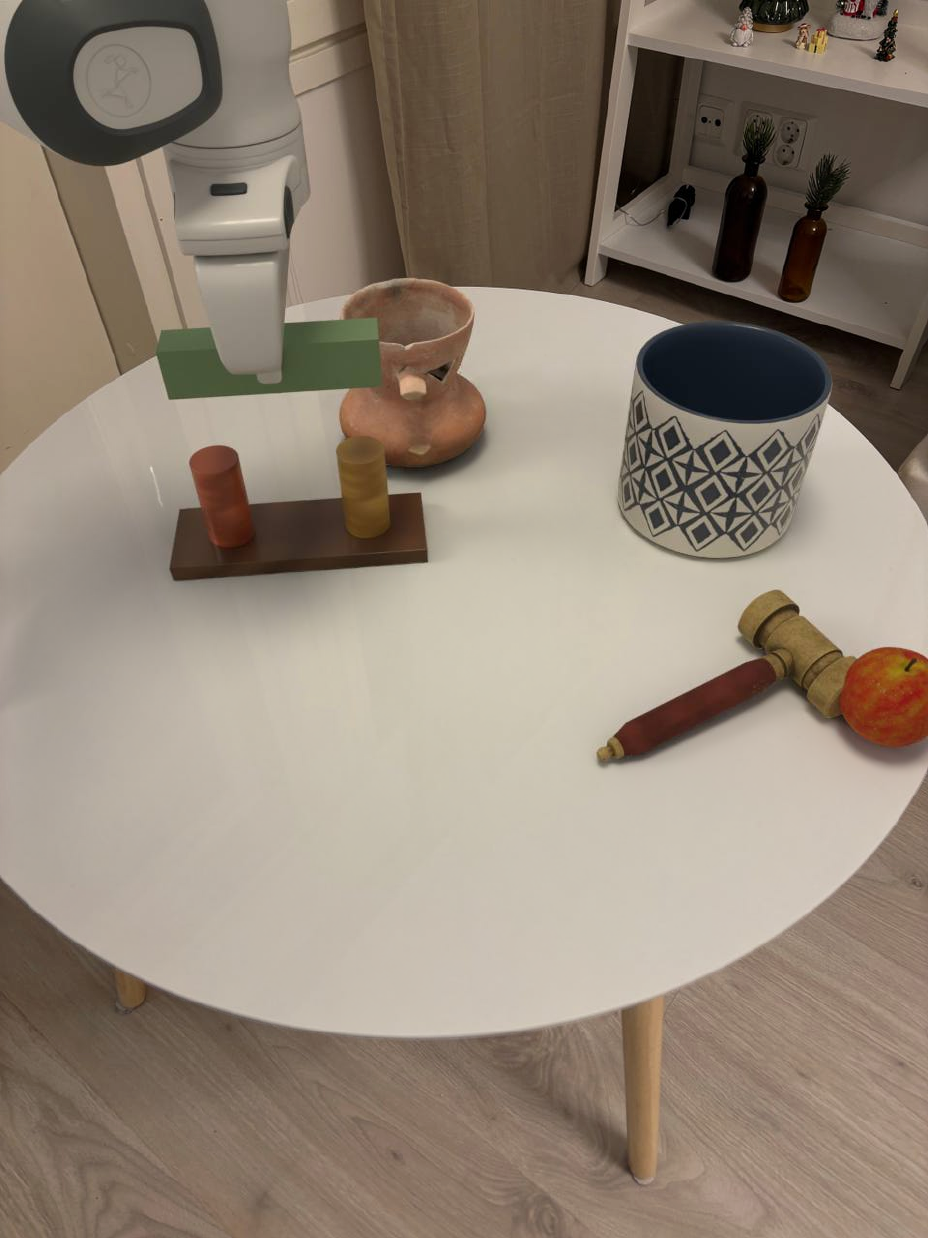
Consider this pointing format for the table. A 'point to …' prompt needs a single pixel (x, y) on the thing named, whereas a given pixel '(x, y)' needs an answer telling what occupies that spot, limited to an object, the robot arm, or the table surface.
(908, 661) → the fruit
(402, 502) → the rod stand
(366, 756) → the table surface
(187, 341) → the bar
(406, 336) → the ceramic jug
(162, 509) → the table surface
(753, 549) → the planter
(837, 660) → the gavel
